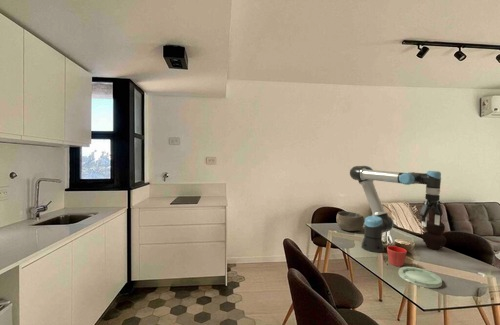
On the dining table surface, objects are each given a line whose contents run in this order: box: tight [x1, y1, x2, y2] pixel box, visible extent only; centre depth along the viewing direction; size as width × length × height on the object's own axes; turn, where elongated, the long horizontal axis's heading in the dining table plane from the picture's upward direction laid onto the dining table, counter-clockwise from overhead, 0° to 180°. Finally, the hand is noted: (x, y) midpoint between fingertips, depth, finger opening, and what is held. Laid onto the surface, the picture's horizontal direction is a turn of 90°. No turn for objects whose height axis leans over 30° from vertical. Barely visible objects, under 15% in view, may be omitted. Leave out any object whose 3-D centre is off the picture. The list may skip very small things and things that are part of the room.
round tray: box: [398, 266, 443, 289], centre depth 136 cm, size 20×20×2 cm
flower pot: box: [386, 245, 407, 267], centre depth 155 cm, size 11×11×10 cm
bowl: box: [335, 211, 365, 232], centre depth 227 cm, size 24×24×15 cm
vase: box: [421, 208, 448, 251], centre depth 184 cm, size 15×15×30 cm
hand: (430, 225), depth 162 cm, fingers open, 13 cm apart
